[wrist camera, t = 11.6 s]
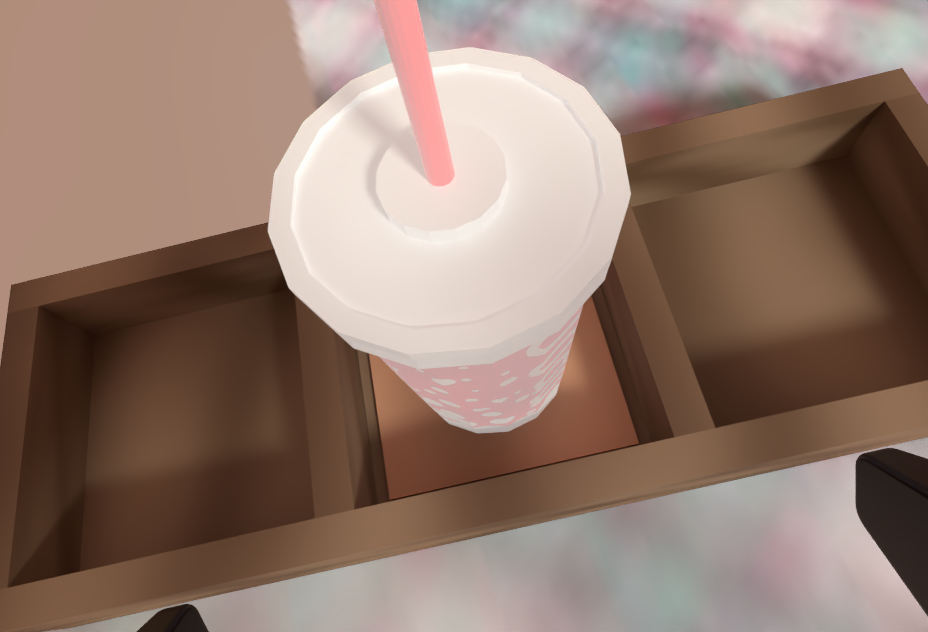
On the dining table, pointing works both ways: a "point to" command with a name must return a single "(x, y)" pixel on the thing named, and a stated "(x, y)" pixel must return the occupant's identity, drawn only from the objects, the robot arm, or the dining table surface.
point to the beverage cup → (453, 220)
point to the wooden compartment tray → (421, 428)
